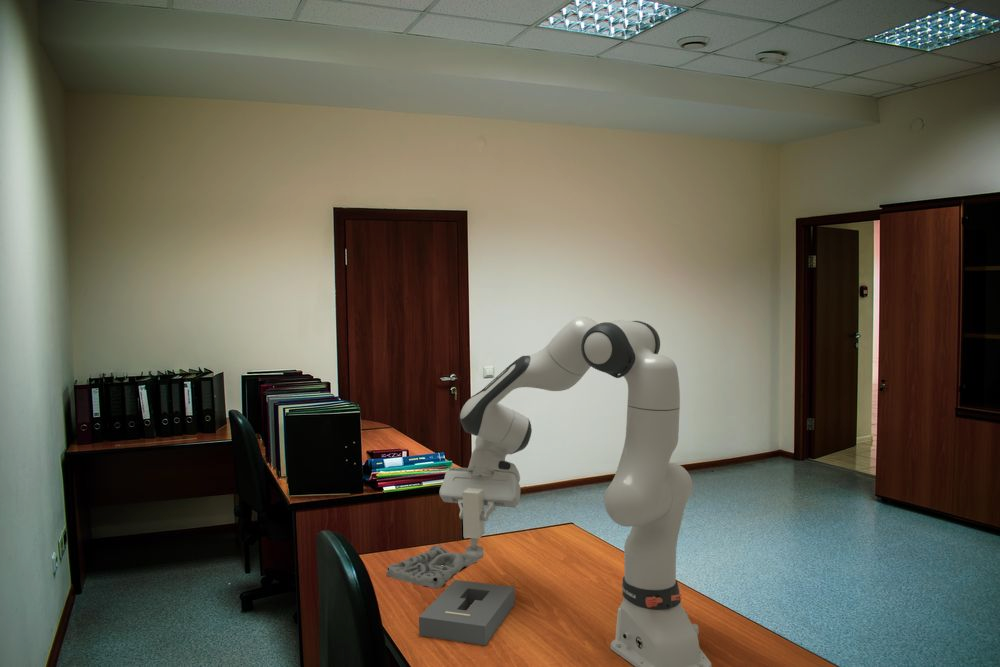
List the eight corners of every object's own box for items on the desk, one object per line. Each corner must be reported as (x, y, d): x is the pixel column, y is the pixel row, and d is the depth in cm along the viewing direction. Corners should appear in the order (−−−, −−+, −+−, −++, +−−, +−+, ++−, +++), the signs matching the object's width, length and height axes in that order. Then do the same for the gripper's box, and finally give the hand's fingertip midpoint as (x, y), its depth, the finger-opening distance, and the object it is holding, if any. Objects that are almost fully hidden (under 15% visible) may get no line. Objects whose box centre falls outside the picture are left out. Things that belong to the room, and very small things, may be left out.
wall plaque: (438, 591, 187) (437, 577, 187) (382, 577, 197) (382, 563, 197) (486, 562, 207) (486, 549, 207) (433, 550, 217) (433, 538, 217)
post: (469, 552, 175) (467, 487, 175) (486, 553, 174) (484, 488, 173) (462, 558, 171) (461, 492, 170) (480, 560, 170) (478, 493, 169)
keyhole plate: (455, 596, 183) (454, 578, 182) (514, 604, 178) (514, 586, 177) (419, 635, 162) (418, 616, 161) (485, 645, 157) (485, 625, 156)
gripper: (444, 460, 181) (429, 509, 173) (521, 465, 175) (509, 516, 166) (451, 473, 186) (437, 521, 177) (526, 478, 179) (515, 528, 171)
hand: (472, 519), depth 172 cm, fingers closed on post, 4 cm apart
